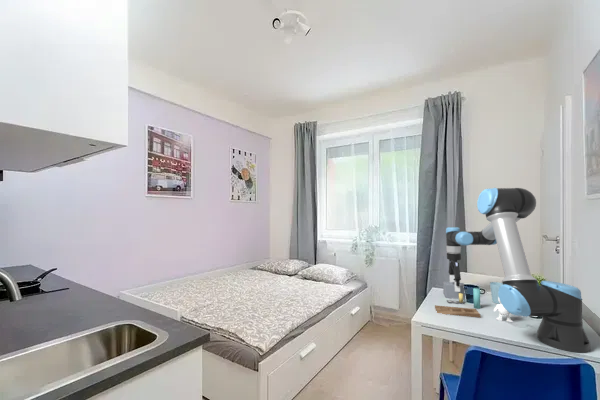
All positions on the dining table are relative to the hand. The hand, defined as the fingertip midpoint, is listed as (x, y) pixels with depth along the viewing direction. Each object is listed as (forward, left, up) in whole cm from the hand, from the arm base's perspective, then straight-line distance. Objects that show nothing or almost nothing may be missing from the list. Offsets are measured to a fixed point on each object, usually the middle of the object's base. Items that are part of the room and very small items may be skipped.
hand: (454, 288), depth 168 cm
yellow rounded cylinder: (-12, +2, -5) cm, 13 cm away
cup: (-5, -21, -5) cm, 22 cm away
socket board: (-29, +5, -5) cm, 29 cm away
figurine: (-34, -14, -5) cm, 37 cm away
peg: (-18, -7, -5) cm, 20 cm away
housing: (0, 0, -5) cm, 5 cm away
